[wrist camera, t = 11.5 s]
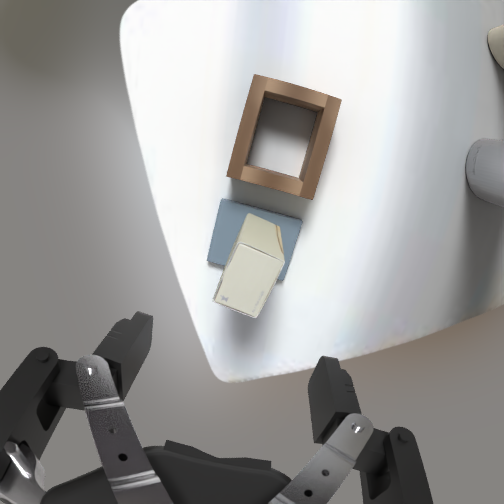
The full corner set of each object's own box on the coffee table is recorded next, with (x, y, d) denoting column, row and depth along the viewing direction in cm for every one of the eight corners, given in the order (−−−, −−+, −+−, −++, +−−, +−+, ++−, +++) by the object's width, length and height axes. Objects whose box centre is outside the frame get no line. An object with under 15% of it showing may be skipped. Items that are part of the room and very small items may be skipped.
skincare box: (259, 269, 38) (256, 322, 26) (226, 255, 37) (210, 303, 26) (281, 224, 36) (288, 262, 24) (247, 209, 35) (237, 240, 24)
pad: (301, 219, 36) (302, 221, 36) (282, 277, 39) (283, 280, 38) (222, 198, 36) (220, 199, 35) (208, 257, 39) (206, 260, 38)
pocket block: (332, 105, 31) (341, 99, 27) (307, 193, 35) (312, 200, 31) (255, 82, 31) (254, 74, 27) (231, 172, 35) (226, 176, 31)
